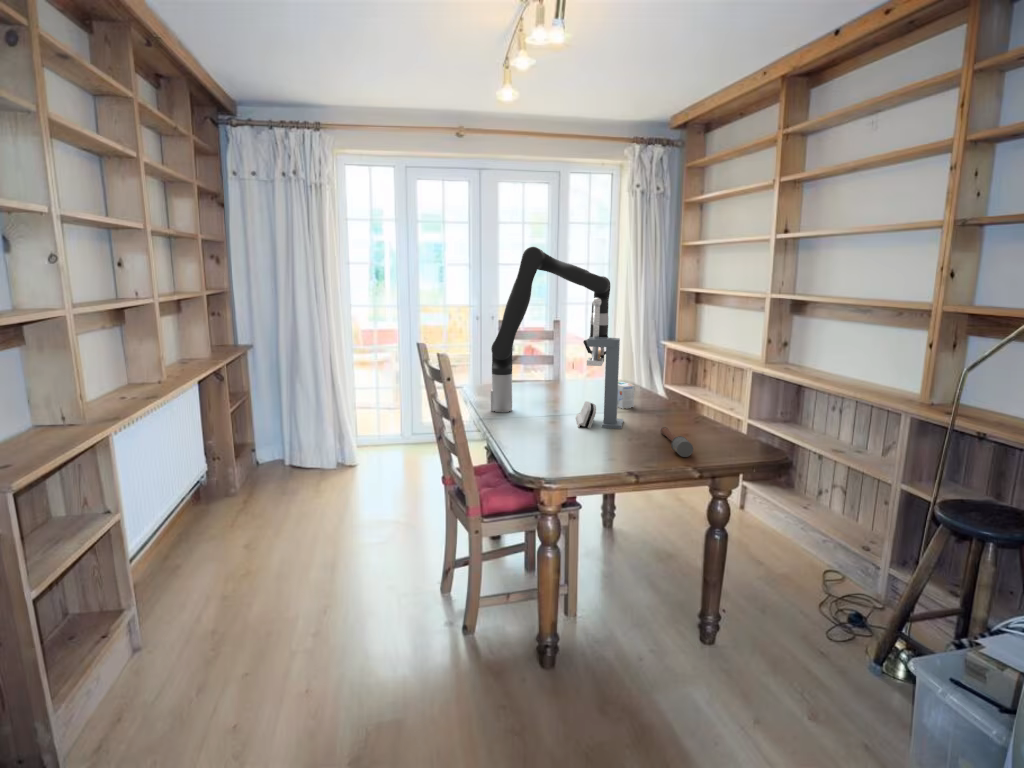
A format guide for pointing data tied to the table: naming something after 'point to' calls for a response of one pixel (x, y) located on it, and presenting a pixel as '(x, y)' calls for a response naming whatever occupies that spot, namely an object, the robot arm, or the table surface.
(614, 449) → the table surface
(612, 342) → the press frame
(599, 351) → the ram
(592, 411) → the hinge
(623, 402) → the light bulb box
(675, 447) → the mallet
